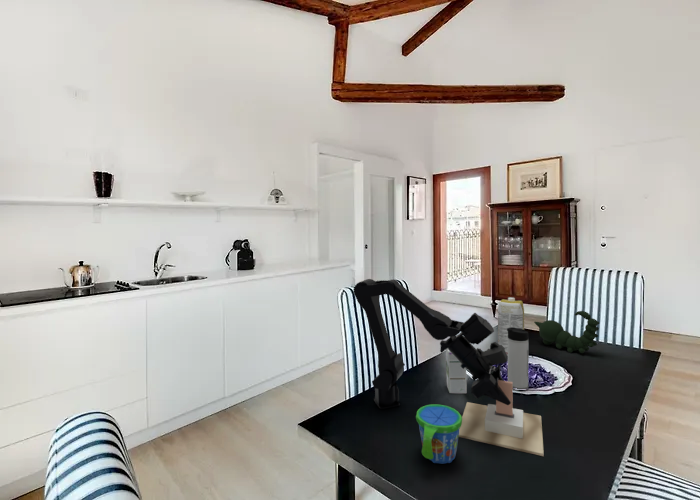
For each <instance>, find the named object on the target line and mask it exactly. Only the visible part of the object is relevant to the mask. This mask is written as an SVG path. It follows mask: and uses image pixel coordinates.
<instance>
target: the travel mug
mask: <svg viewBox="0 0 700 500" xmlns="http://www.w3.org/2000/svg"><path fill="white" fill-rule="evenodd" d="M507 331H508V358H507V381H509V382H513V388H517V389H527V388H528V389H529V331H526V330H525V329H524V330H523V329H519V328H507ZM528 389H527V390H528Z"/></svg>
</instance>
